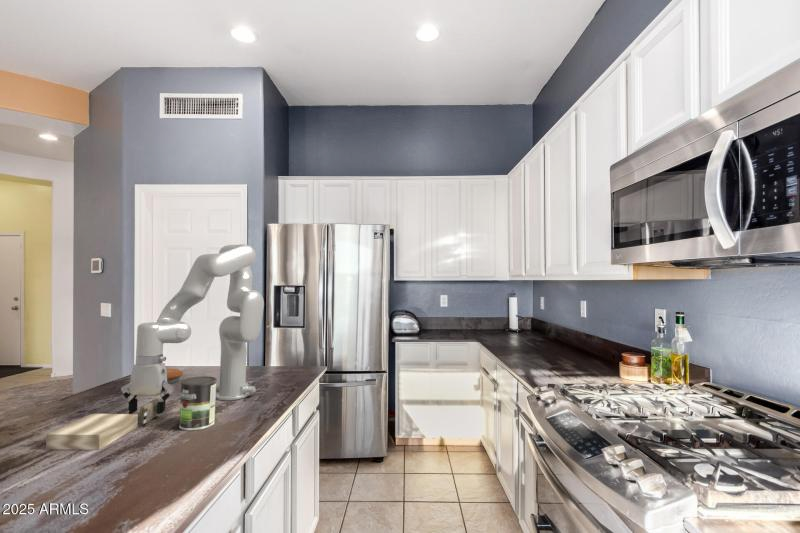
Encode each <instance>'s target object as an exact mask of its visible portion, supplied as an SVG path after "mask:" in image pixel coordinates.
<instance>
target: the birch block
mask: <svg viewBox="0 0 800 533" xmlns="http://www.w3.org/2000/svg"><path fill="white" fill-rule="evenodd" d="M138 423H139V415H138V414H137V413H132V414H129V413H91V414H88V415H85V416H83V417H82V418H80V419H77V420H75V421H72V422H71V423H68V424H67V425H64V426H61V427H60V428H58V429H56V430H53V431H51V432H49V433H47V434H46V440H45V441H46V442H45V450H59V451H60V450H63V451H64V450H66V451H67V450H68V451H69V450H71V451H77V450H79V451H80V450H81V451H87V450H88V451H100V450H102V449H103V448H104V447H106V446H108V445H110V444H111V443H113V442H115V441H117V440H118V439H120V438H122V437H124V436H126V435H127V434H128V433H130V432H131V431H133V430H134V431H135V429H137V428H138ZM99 449H100V450H99Z"/></svg>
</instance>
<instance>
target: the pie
mask: <svg viewBox="0 0 800 533" xmlns="http://www.w3.org/2000/svg"><path fill="white" fill-rule="evenodd" d="M166 372H167V383H168V384H170V385H172V384H174V383H177V382H178V381H179V379H180V378H181V377H182V376H183V375H184V371H183V370H180V369H178V368H166Z"/></svg>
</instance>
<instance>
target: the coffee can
mask: <svg viewBox="0 0 800 533" xmlns="http://www.w3.org/2000/svg"><path fill="white" fill-rule="evenodd" d="M217 381H218V379H217V377H214V376H210V375H209V376H193V377H188V378H185V379H183V380H181V381H180V404H179V422H178V423H179V425H178V428H179V429H180V430H181V431H199V430H204V429H207V428H210V427H211V426H213V425H214V424H215V423H216V422H215V418H216V417H215V416H216V415H215V414H216V393H217Z"/></svg>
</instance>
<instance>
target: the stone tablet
mask: <svg viewBox="0 0 800 533" xmlns="http://www.w3.org/2000/svg"><path fill="white" fill-rule="evenodd" d="M158 402H159V400H158V398H157V397H156V398H154V399H152V400H150V401H148V402H146V403H144V404H143V405H141V406H140V408H139V415H138V423H139V424H140V425H143V426H142V428H145V427H146V426H147V422H149V421H151V420H152V419H154V418H157V417H158V416H160V415H161V414H157V403H158Z"/></svg>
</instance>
